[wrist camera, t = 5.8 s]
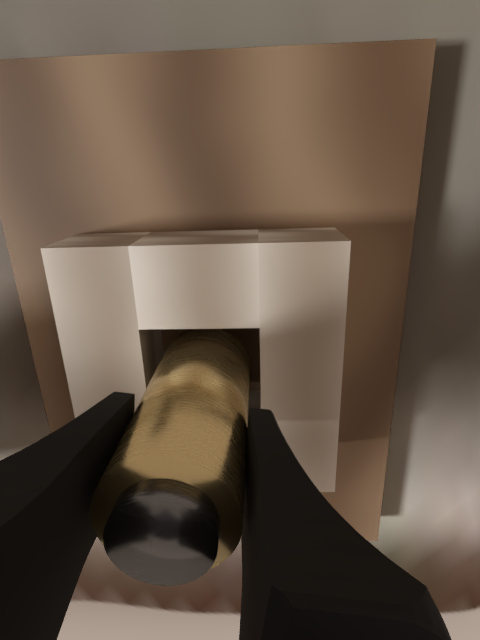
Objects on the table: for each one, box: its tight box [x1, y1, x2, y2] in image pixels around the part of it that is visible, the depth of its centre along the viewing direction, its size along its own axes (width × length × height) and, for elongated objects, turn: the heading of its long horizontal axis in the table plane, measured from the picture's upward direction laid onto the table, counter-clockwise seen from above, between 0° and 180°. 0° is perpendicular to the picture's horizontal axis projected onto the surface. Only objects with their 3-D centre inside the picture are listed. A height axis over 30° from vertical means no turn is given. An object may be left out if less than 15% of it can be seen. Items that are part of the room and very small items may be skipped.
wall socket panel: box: [0, 38, 437, 541], centre depth 17 cm, size 16×22×4 cm
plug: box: [90, 329, 250, 586], centre depth 12 cm, size 3×3×8 cm
